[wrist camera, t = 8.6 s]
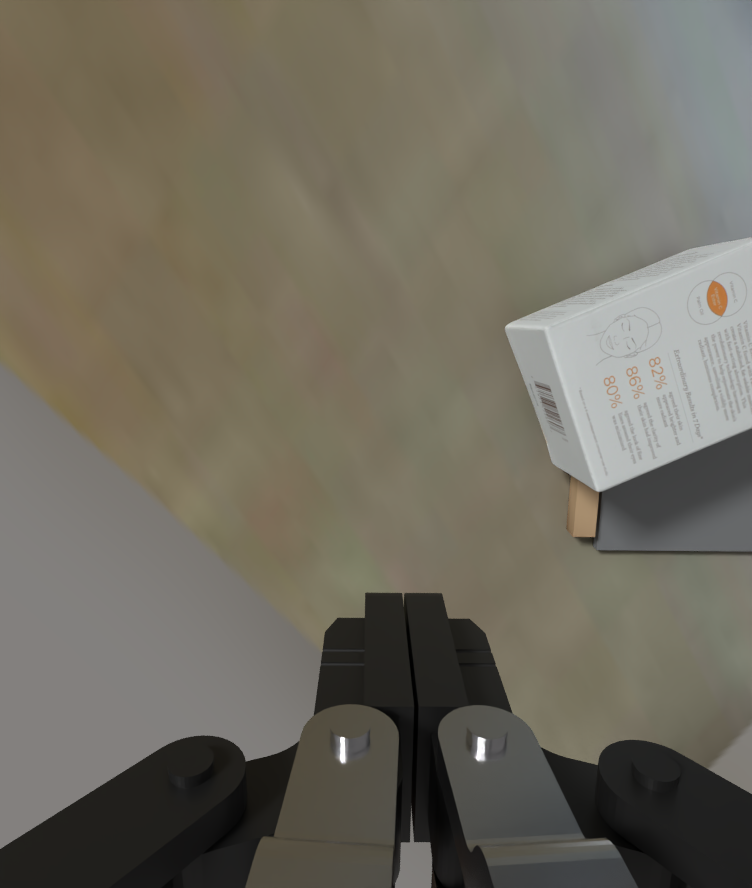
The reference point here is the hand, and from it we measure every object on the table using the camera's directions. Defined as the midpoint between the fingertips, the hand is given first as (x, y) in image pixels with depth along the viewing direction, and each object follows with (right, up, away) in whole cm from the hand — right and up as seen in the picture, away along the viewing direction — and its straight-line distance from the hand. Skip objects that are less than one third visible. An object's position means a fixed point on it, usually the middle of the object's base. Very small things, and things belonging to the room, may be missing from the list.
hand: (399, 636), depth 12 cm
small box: (+7, +6, +17) cm, 19 cm away
